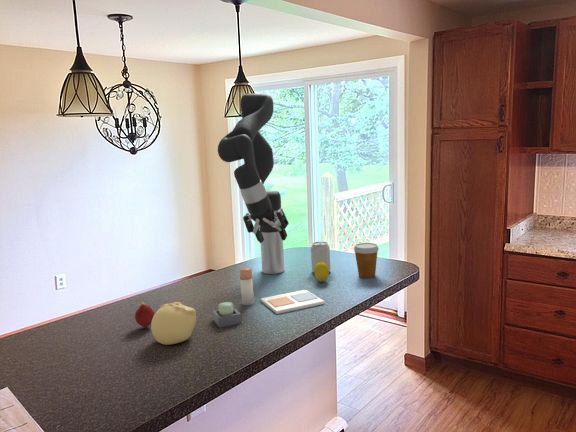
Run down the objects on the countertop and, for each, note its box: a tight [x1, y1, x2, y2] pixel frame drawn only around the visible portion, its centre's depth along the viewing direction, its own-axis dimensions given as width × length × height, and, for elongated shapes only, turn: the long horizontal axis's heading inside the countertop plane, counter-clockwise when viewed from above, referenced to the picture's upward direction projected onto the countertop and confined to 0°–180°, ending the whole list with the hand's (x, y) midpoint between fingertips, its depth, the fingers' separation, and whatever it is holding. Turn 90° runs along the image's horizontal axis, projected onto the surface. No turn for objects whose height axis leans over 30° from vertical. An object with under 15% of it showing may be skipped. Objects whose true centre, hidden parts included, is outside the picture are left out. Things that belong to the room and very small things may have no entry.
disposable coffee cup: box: [353, 242, 380, 279], centre depth 187 cm, size 10×10×12 cm
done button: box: [218, 301, 234, 317], centre depth 149 cm, size 4×4×4 cm
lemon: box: [313, 261, 330, 283], centre depth 183 cm, size 6×6×8 cm
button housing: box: [211, 306, 242, 329], centre depth 150 cm, size 7×7×3 cm
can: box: [310, 241, 331, 273], centre depth 196 cm, size 8×8×12 cm
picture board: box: [260, 289, 325, 315], centre depth 163 cm, size 14×17×1 cm
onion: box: [134, 302, 156, 328], centre depth 148 cm, size 6×6×8 cm
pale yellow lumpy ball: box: [150, 301, 197, 346], centre depth 138 cm, size 11×12×11 cm
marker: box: [238, 266, 255, 306], centre depth 164 cm, size 4×4×12 cm
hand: (273, 240), depth 158 cm, fingers open, 8 cm apart
